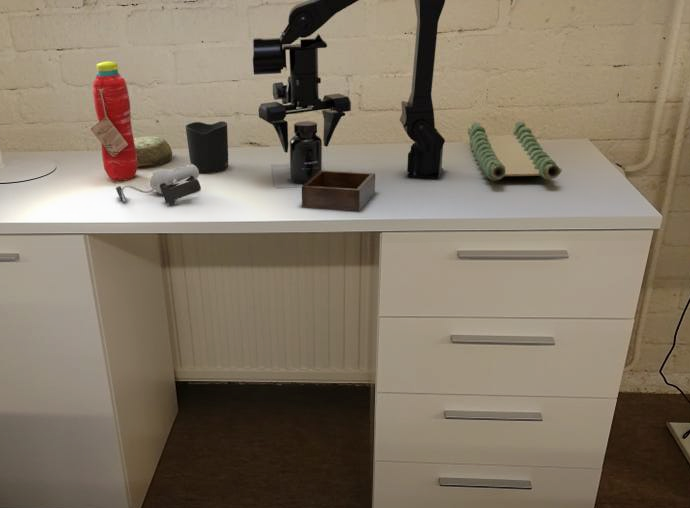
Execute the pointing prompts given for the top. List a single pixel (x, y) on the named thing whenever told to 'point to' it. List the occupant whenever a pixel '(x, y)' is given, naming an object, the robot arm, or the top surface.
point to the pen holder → (208, 146)
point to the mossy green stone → (152, 151)
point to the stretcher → (511, 154)
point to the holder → (338, 190)
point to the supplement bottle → (305, 152)
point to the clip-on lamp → (171, 183)
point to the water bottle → (114, 122)
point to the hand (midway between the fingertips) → (306, 149)
